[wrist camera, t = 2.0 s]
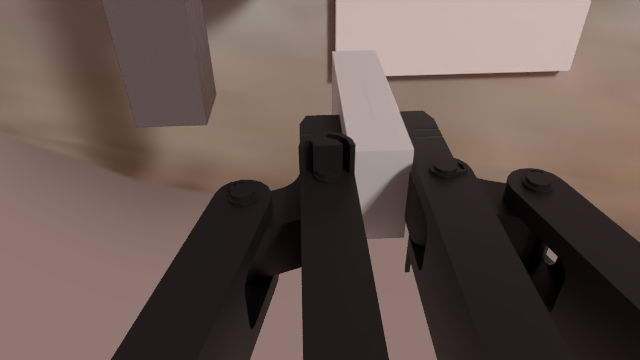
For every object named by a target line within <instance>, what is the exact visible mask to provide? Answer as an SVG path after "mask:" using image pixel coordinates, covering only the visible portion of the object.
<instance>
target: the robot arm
mask: <svg viewBox="0 0 640 360" xmlns="http://www.w3.org/2000/svg"><path fill="white" fill-rule="evenodd" d="M299 168H300V175H299V176H298V178H297V179H296V180H295V181H294V182H293V183H292V184H290V185H288V186H286V187H284V188H281V189H277V190H273V191H270V189H269V187H268V186H266V185H265V184H263V183H262V182H259V181H254V180H239V181H234V182H230V183H228V184H226V185H224V186H222V187H221V188H220V189H219V190H218V191H217V192H216V193H215V194H214V196H213V198H212V199H211V201H210V202H209V204H208V206H207V207H206V209H205V210H204V212H203V214H202V215H201V217H200V218H199V220H198V222H197V223H196V225H195V226H194V228H193V230H192V231H191V233H190V234H189V236H188V238H187V239H186V241H185V242H184V244H183V246H182V247H181V249H180V251H179V252H178V254H177V255H176V257H175V258H174V260H173V261H172V263H171V265H170V266H169V268H168V270H167V271H166V273H165V274H164V276H163V277H162V279H161V281H160V282H159V284H158V285H157V287H156V289H155V290H154V292H153V294H152V295H151V297H150V298H149V300H148V302H147V303H146V305H145V306H144V308H143V309H142V311H141V312H140V314H139V316H138V318H137V319H136V321H135V322H134V324H133V325H132V327H131V328H130V330H129V332H128V333H127V335H126V336H125V338H124V340H123V341H122V343H121V345H120V346H119V348H118V349H117V351H116V352H115V354H114V356H113V357H112V359H111V360H250V357H251V355H252V352H253V349H254V347H255V344H256V341H257V338H258V335H259V333H260V330H261V327H262V324H263V322H264V319H265V316H266V313H267V310H268V307H269V305H270V302H271V299H272V296H273V294H274V291H275V288H276V285H277V282H278V277H279V274H280V273H284V272H287V271H290V270H293V269H297V268H300V267H302V319H303V360H389V358H388V352H387V347H386V341H385V336H384V331H383V325H382V320H381V314H380V309H379V303H378V299H377V293H376V287H375V282H374V277H373V271H372V266H371V260H370V255H369V249H368V244H367V239H375V238H401V237H404V231H405V224H407V228H408V231H409V240H408V247H407V255H406V264H405V272H409V270H410V265H412V269H413V272H414V276H415V280H416V283H417V287H418V290H419V294H420V298H421V302H422V305H423V309H424V313H425V316H426V320H427V324H428V327H429V331H430V335H431V338H432V342H433V345H434V349H435V353H436V357H437V360H640V242H638V241H637V240H636V239H635V238H633V237H632V236H631V235H630V234H628V233H627V232H626V231H625V230H624V229H622V228H621V227H620V226H619V225H617V224H616V223H615V222H614V221H612V220H611V219H610V218H609V217H608V216H606V215H605V214H604V213H603V212H601V211H600V210H599V209H598V208H596V207H595V206H594V205H593V204H592V203H590V202H589V201H588V200H587V199H585V198H584V197H583V196H582V195H580V194H579V193H578V192H577V191H576V190H574V189H573V188H572V187H571V186H569V185H568V184H567V183H566V182H565V181H563V180H562V179H560V178H559V177H557V176H556V175H554V174H552V173H549V172H546V171H544V170H540V169H532V168H527V169H519V170H516V171H513V172H512V173H511V174H510V175H509V176H508V178H507V182H506V183H500V182H494V181H488V180H483V179H479V178H476V176H475V174H474V172H473V171H472V169H471V168H470V167H469V166H468V165H467V164H466V163H464V162H463V161H461V160H459V159H456V158H453V156H452V154H451V152H450V150H449V148H448V146H447V144H446V142H445V140H444V138H443V137H442V134H441V132H440V130H438V126H437V124H436V122H435V120H434V119H433V118H432V117H431V116H429V115H428V114H426V113H425V112H424V111H403V112H399V109H398V107H397V104H396V102H395V99H394V96H393V94H392V91H391V89H390V86H389V84H388V81H387V78H386V76H385V73H384V71H383V68H382V66H381V63H380V61H379V58H378V55H377V53H376V50H359V51H332V115H316V116H306V117H305V118H304V119H303V121H302V122H301V123H300V144H299ZM548 247H549V248H550V249H551V250H552V251H553V252H554V253H555V254H556V255H557V256H558V258H557V260H556V262H554V261H552V260H551V259H550V258H549V257H548V256H547V255H546V253H547V250H548Z"/></svg>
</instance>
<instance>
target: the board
mask: <svg viewBox="0 0 640 360" xmlns="http://www.w3.org/2000/svg"><path fill="white" fill-rule="evenodd" d="M590 3H591V0H335V51H359V50H376V53H377V55H378V58H379V61H380V63H381V66H382V68H383V71H384V73H385V76H404V75H439V74H473V73H507V72H542V71H570V68H571V64H572V61H573V58H574V55H575V52H576V48H577V45H578V42H579V39H580V35H581V32H582V29H583V26H584V23H585V19H586V16H587V13H588V10H589V6H590Z"/></svg>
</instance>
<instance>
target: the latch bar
mask: <svg viewBox="0 0 640 360" xmlns="http://www.w3.org/2000/svg"><path fill="white" fill-rule="evenodd" d="M102 3H103V6H104V10H105V14H106V17H107V21H108V25H109V28H110V32H111V36H112V39H113V43H114V47H115V50H116V54H117V58H118V61H119V65H120V69H121V72H122V76H123V80H124V83H125V87H126V91H127V94H128V98H129V102H130V105H131V109H132V113H133V116H134V120H135V124H136V127H162V126H194V125H207V123H208V120H209V117H210V113H211V110H212V107H213V104H214V100H215V97H216V89H215V83H214V76H213V70H212V63H211V57H210V50H209V44H208V37H207V30H206V24H205V17H204V11H203V4H202V0H102Z"/></svg>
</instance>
